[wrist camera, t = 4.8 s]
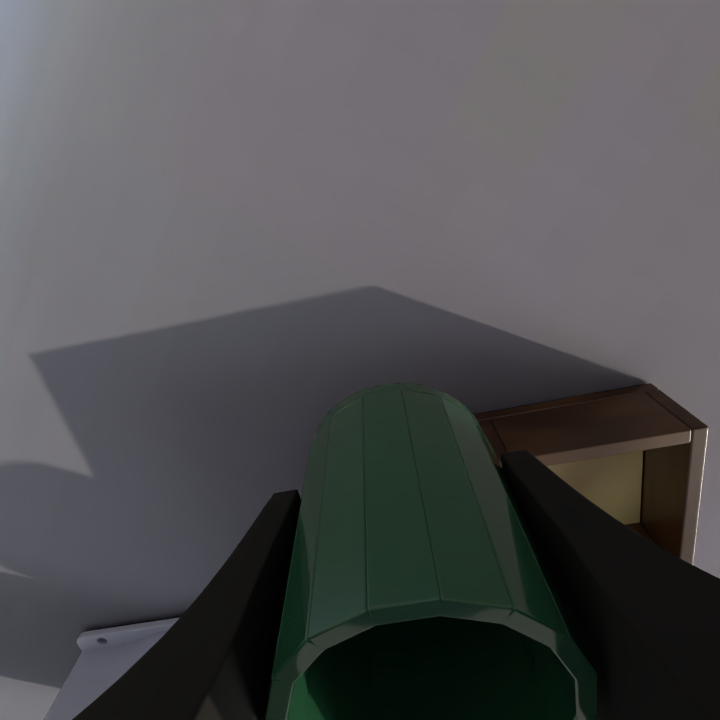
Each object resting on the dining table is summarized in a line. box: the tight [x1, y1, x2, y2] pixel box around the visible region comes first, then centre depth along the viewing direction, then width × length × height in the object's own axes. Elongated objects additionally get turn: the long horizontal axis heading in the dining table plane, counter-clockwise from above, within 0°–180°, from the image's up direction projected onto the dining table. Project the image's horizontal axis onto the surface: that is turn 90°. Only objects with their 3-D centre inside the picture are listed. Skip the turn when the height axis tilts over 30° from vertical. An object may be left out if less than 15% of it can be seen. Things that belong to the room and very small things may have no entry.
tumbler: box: [265, 383, 599, 720], centre depth 10 cm, size 5×5×6 cm
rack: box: [473, 384, 708, 565], centre depth 22 cm, size 15×15×4 cm
